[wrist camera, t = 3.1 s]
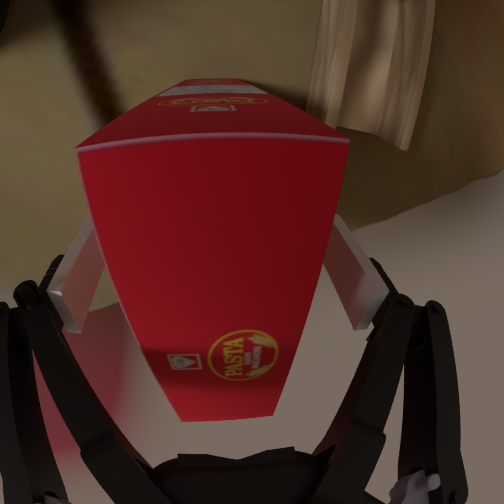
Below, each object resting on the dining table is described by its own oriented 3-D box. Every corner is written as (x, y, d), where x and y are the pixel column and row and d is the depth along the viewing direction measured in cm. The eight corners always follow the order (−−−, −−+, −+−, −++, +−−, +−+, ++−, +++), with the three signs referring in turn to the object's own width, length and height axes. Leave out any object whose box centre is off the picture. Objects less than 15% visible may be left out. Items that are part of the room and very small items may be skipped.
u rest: (303, 119, 28) (323, 132, 23) (327, -36, 15) (350, -51, 11) (379, 135, 30) (407, 151, 25) (404, -4, 17) (435, -8, 13)
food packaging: (234, 201, 33) (272, 415, 14) (190, 203, 33) (181, 421, 13) (237, 78, 24) (350, 139, 5) (185, 79, 23) (74, 148, 4)
